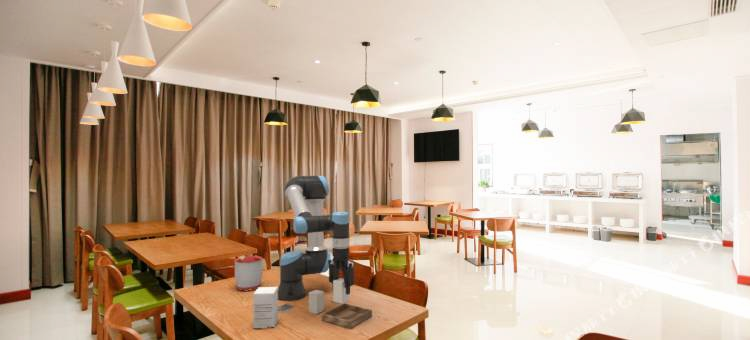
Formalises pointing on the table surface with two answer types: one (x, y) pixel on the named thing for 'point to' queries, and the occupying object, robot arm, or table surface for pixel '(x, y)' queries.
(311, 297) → the white upright block piece
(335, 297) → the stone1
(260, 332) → the table surface
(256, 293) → the supplement box
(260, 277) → the grey bucket
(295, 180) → the robot arm
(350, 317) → the brown wooden tray
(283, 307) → the trowel
